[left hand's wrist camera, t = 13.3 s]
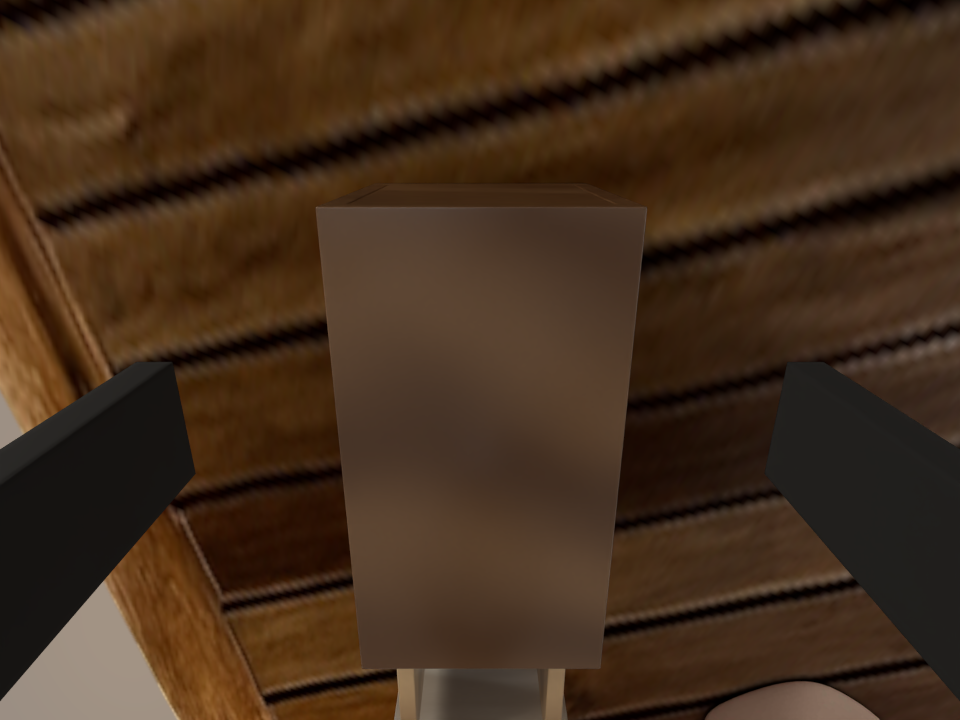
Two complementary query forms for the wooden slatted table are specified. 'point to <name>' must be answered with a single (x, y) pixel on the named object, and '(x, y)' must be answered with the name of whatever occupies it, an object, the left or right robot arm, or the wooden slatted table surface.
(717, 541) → the wooden slatted table surface
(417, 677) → the drawer
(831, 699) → the anatomical model
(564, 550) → the cabinet
